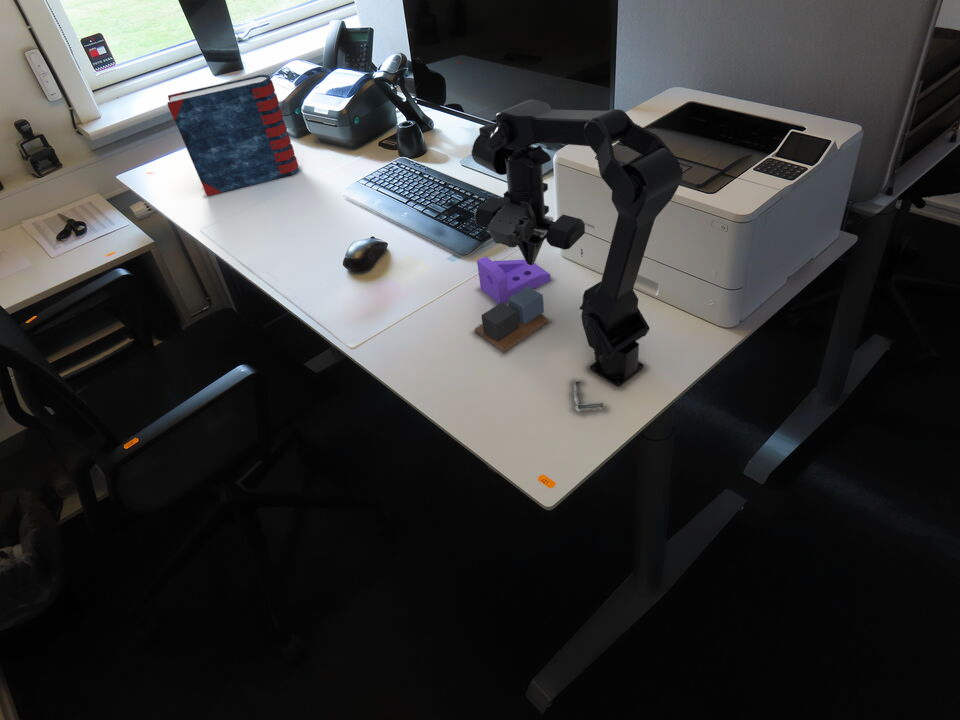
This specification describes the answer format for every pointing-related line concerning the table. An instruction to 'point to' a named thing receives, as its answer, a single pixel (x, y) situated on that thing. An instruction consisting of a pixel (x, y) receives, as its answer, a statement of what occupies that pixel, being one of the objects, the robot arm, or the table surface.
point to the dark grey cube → (500, 321)
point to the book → (234, 133)
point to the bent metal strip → (585, 406)
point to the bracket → (508, 277)
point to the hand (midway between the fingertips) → (531, 263)
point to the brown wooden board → (514, 333)
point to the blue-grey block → (527, 304)
